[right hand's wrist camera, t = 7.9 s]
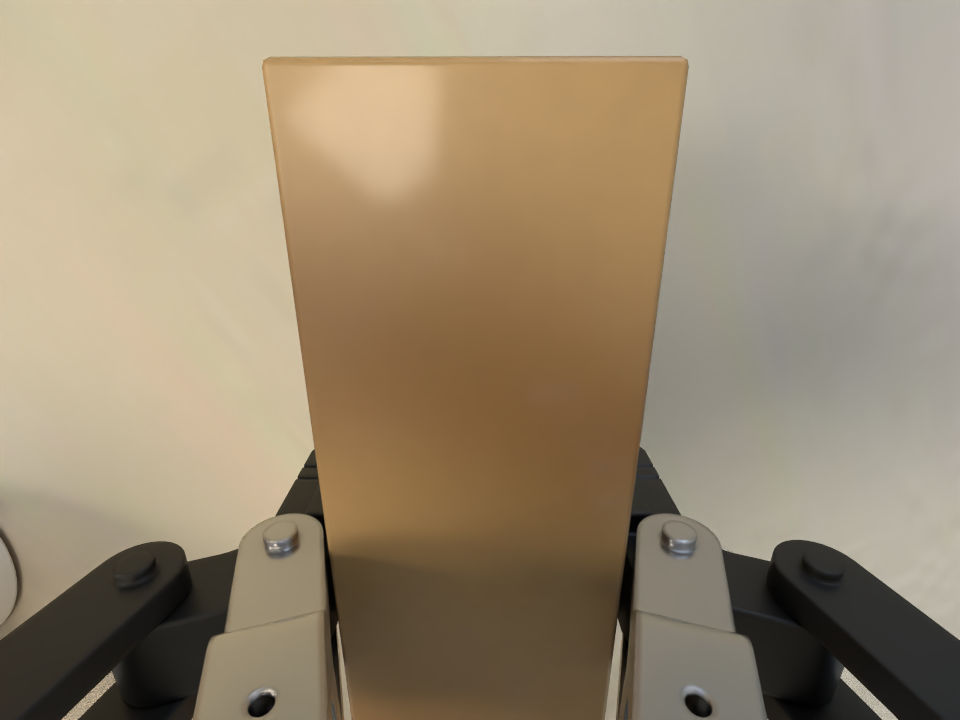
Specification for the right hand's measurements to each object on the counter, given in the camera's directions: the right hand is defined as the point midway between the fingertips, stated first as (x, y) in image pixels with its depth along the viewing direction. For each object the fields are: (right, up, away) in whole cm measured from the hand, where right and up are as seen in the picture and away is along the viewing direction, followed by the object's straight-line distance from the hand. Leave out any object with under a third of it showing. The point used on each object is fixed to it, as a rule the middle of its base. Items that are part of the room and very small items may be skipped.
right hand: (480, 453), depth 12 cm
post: (0, -15, +10) cm, 18 cm away
